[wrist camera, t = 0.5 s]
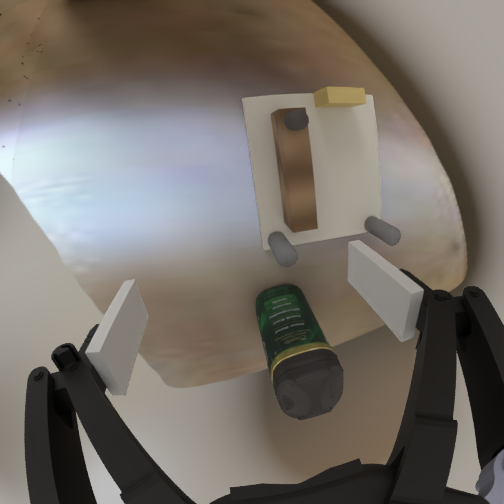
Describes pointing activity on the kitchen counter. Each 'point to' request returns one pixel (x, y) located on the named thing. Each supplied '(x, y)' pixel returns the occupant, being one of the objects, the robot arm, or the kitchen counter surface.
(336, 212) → the white board with blocks
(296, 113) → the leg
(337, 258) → the kitchen counter surface
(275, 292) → the coffee jar
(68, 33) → the kitchen counter surface
